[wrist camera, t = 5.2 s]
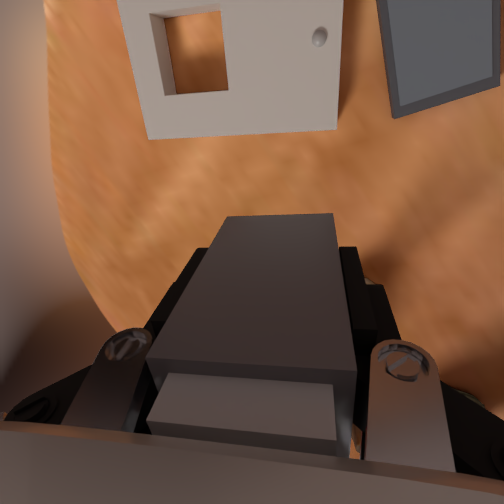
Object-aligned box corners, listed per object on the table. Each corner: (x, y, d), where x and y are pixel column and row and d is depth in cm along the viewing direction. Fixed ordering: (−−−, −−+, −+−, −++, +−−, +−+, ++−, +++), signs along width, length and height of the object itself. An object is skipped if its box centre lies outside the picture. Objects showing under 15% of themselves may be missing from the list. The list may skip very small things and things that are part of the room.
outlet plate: (344, -71, 20) (348, -89, 18) (335, 125, 26) (336, 129, 24) (126, -32, 24) (105, -43, 21) (160, 134, 29) (147, 139, 27)
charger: (333, 213, 11) (366, 427, 4) (330, 300, 13) (351, 542, 6) (227, 216, 12) (118, 403, 5) (239, 298, 14) (171, 512, 7)
